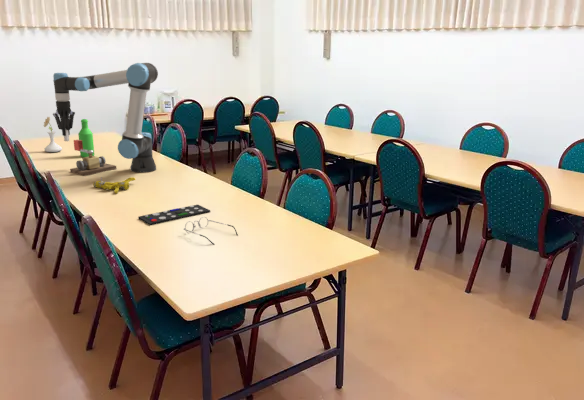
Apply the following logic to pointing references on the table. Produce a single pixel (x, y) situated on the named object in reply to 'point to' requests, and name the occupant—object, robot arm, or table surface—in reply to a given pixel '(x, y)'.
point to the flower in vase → (52, 146)
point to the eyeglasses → (207, 224)
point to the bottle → (86, 138)
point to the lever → (81, 147)
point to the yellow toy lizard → (113, 184)
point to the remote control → (173, 214)
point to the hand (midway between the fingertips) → (66, 140)
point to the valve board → (93, 171)
